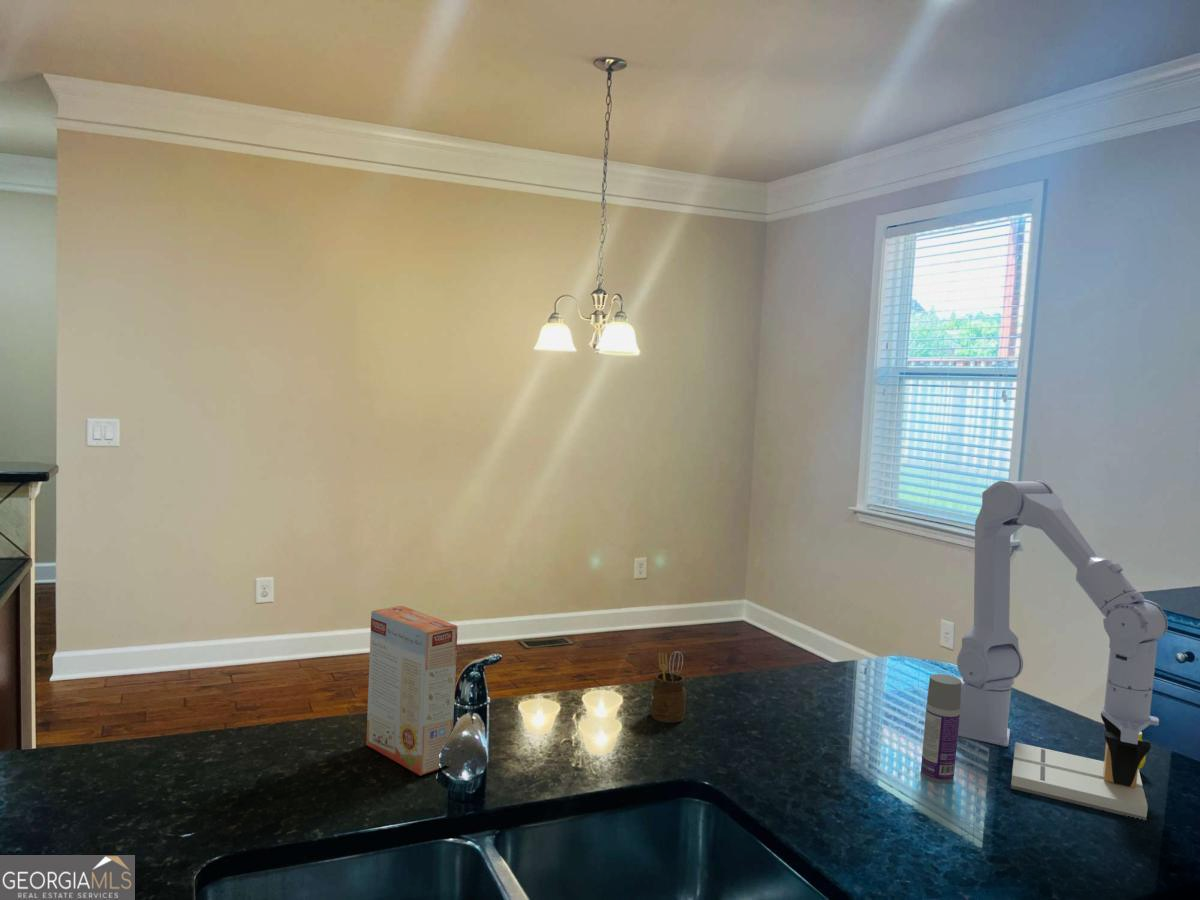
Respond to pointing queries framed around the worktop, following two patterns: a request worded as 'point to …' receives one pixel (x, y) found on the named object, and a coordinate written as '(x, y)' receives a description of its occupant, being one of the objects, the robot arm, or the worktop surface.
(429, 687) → the cracker box
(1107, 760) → the fader tab
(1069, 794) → the fader console
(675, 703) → the utensil holder
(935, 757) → the container
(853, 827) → the worktop surface
